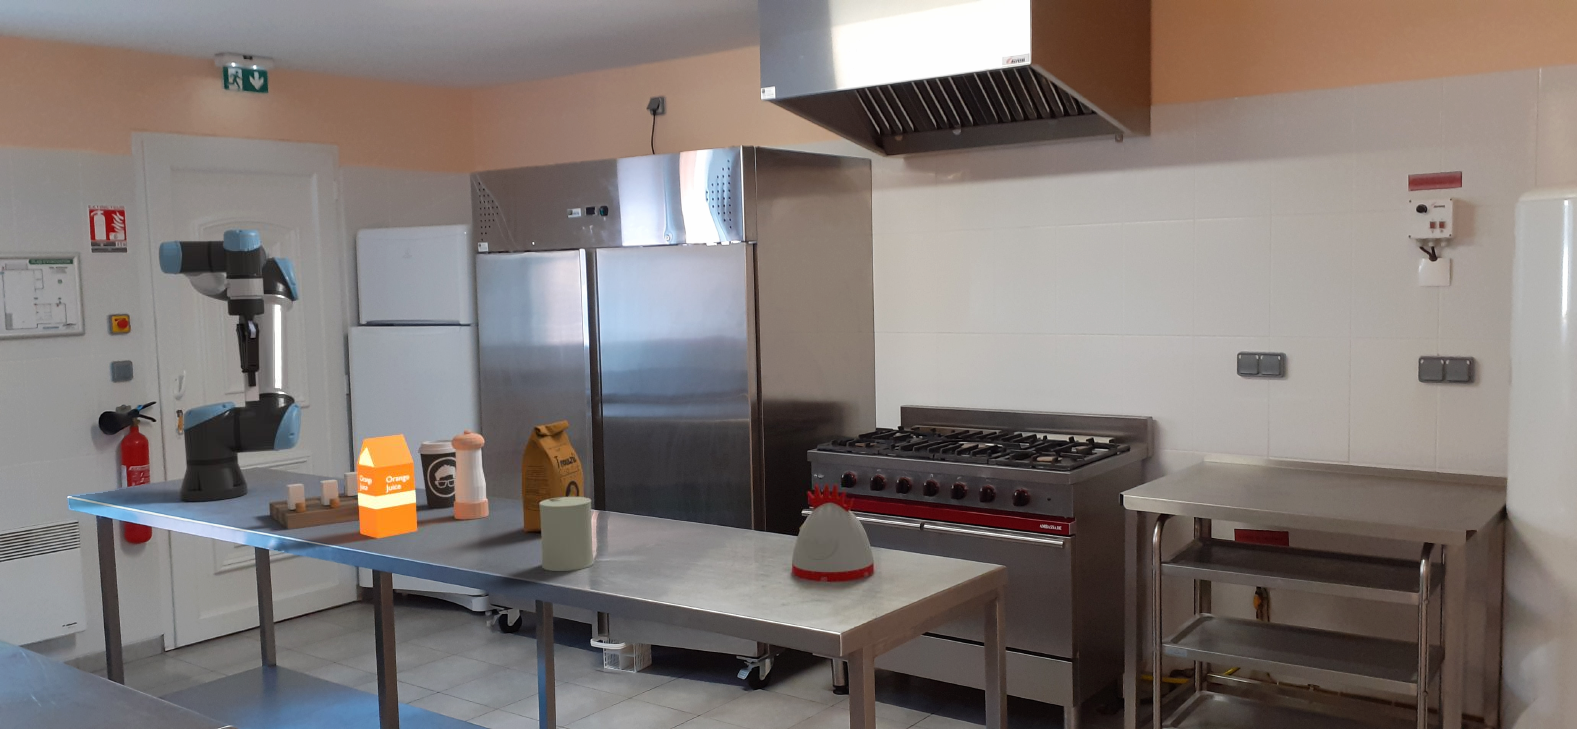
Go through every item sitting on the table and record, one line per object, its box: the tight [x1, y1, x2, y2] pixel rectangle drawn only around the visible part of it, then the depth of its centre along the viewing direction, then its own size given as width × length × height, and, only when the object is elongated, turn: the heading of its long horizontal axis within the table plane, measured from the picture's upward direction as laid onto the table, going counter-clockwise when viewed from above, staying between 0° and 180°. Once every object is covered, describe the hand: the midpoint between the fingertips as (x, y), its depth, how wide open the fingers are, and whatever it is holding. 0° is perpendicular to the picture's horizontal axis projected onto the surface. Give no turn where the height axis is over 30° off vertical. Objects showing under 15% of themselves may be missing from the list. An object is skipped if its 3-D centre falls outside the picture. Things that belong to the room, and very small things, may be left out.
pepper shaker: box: [451, 429, 490, 520], centre depth 248 cm, size 7×7×19 cm
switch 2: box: [319, 479, 339, 505], centre depth 250 cm, size 3×3×5 cm
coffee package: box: [521, 419, 585, 533], centre depth 233 cm, size 10×12×22 cm
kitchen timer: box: [791, 483, 875, 583], centre depth 191 cm, size 14×14×15 cm
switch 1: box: [286, 483, 306, 510], centre depth 246 cm, size 3×3×5 cm
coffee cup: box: [417, 439, 456, 510], centre depth 261 cm, size 10×10×15 cm
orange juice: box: [356, 433, 418, 539], centre depth 234 cm, size 8×9×20 cm
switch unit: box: [268, 485, 360, 530], centre depth 254 cm, size 20×20×5 cm
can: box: [539, 496, 595, 572], centre depth 201 cm, size 9×9×12 cm
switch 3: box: [343, 471, 358, 496], centre depth 261 cm, size 3×3×5 cm
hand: (252, 400), depth 259 cm, fingers closed
